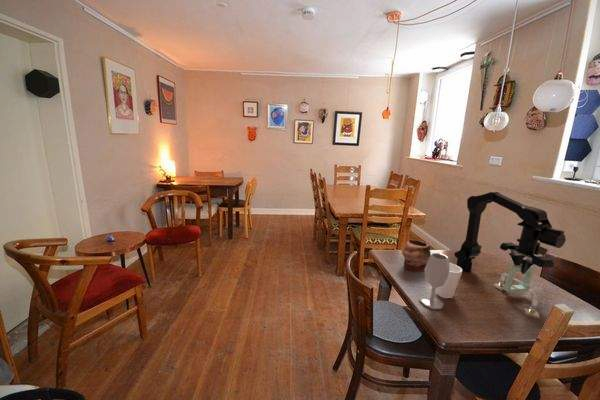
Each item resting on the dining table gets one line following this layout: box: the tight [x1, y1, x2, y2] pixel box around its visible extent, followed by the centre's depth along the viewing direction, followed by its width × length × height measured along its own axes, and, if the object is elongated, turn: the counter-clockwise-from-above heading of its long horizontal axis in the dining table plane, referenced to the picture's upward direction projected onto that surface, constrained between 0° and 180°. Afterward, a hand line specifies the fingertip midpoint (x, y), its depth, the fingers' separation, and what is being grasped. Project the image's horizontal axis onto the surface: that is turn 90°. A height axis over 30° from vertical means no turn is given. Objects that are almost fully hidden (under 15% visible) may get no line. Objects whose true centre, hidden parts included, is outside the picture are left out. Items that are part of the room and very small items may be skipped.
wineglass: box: [418, 252, 450, 310], centre depth 105 cm, size 9×9×21 cm
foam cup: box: [435, 262, 463, 299], centre depth 113 cm, size 10×9×13 cm
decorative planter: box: [401, 239, 432, 273], centre depth 137 cm, size 20×12×14 cm, turn 126°
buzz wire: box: [492, 272, 540, 320], centre depth 112 cm, size 5×25×9 cm, turn 173°
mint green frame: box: [503, 264, 535, 294], centre depth 114 cm, size 10×3×12 cm, turn 99°
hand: (520, 272), depth 113 cm, fingers closed on mint green frame, 2 cm apart
